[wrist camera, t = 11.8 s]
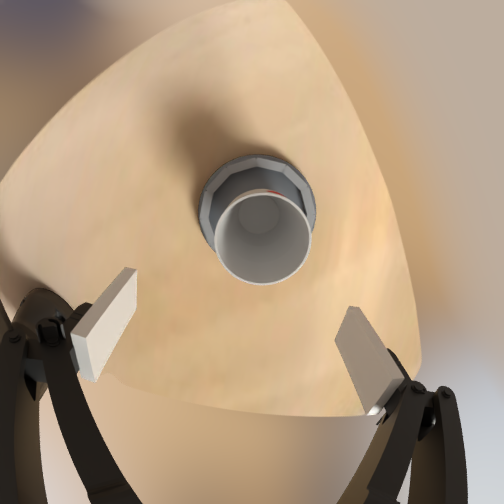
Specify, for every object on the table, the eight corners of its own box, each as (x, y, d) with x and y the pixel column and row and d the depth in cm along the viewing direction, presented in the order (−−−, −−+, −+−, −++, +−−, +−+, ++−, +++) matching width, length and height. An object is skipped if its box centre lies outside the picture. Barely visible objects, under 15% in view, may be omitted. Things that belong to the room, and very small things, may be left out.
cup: (304, 226, 33) (326, 257, 23) (246, 258, 34) (246, 300, 25) (271, 167, 30) (282, 174, 21) (210, 203, 32) (195, 225, 22)
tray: (191, 253, 35) (188, 259, 33) (212, 143, 30) (210, 143, 28) (296, 274, 36) (299, 281, 34) (326, 171, 32) (331, 172, 29)
